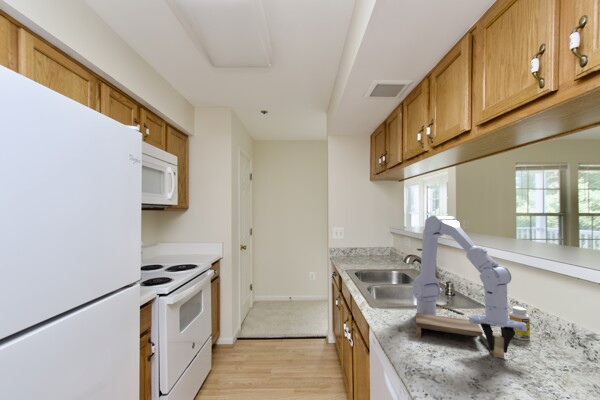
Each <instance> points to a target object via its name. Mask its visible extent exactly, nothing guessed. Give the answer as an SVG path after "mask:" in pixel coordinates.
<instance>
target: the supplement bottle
mask: <svg viewBox="0 0 600 400" xmlns="http://www.w3.org/2000/svg"><path fill="white" fill-rule="evenodd" d="M527 313H528V312H527V309H526V308H524V307H522V306H512V308H511V311H510V312H509V320H513V321H518V322H524V323H525V324H526V325H527V331H522V330H519V329H514V331H515V335H514V337H513V339H517V340H520V341H529V340H530V339H531V327H530V326H531V324H530V323H531V322H530V321H531V320H530V315H529V314H527Z"/></svg>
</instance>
